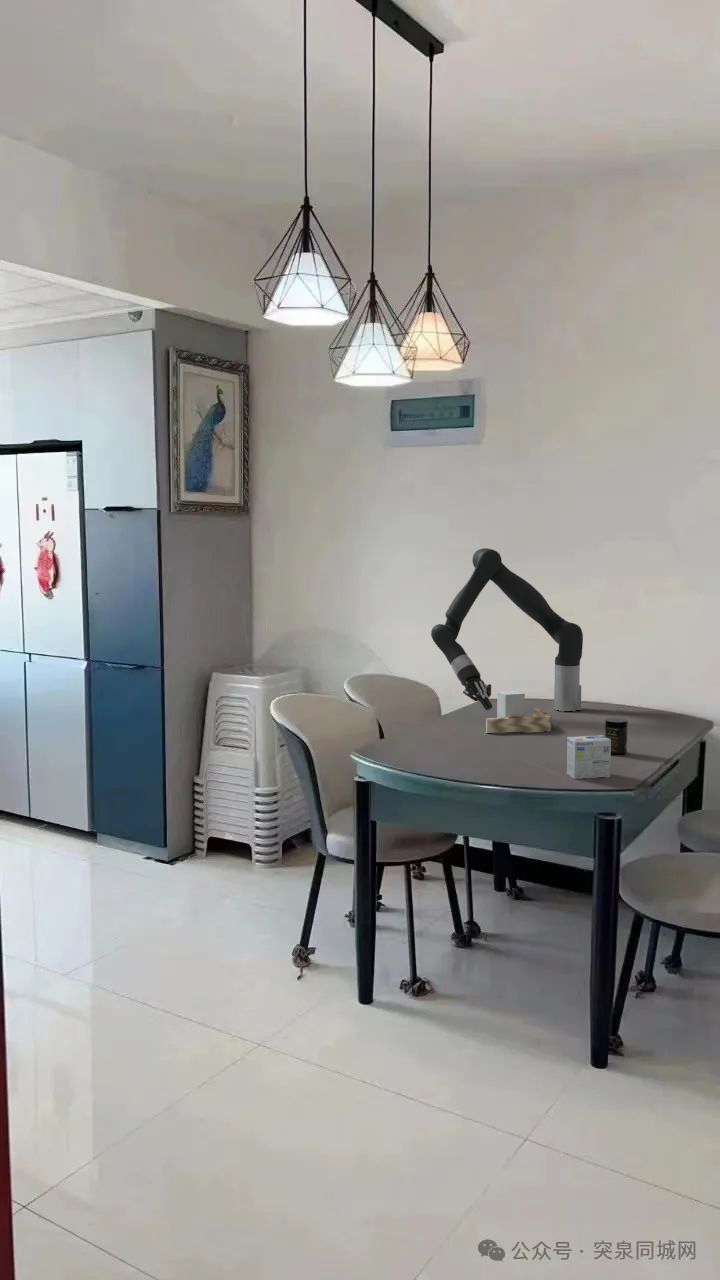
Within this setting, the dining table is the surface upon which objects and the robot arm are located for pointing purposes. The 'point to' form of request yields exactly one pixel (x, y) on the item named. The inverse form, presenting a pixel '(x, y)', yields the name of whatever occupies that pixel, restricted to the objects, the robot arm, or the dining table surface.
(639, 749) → the dining table surface
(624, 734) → the supplement container
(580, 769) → the light bulb box
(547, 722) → the wooden corner bracket
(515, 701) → the supplement box
